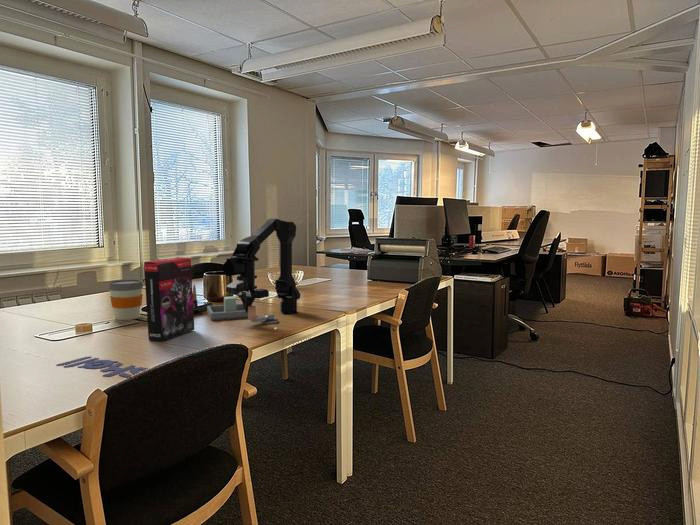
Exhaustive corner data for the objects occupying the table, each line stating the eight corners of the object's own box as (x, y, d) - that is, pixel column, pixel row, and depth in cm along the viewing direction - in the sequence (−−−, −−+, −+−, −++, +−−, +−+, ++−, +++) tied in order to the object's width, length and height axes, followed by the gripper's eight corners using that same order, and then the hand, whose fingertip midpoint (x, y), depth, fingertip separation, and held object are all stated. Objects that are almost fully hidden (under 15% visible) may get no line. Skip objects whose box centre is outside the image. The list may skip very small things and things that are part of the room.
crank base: (275, 319, 196) (275, 317, 196) (286, 329, 181) (286, 327, 181) (258, 320, 193) (258, 319, 193) (267, 330, 178) (267, 328, 178)
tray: (246, 310, 214) (246, 303, 213) (253, 317, 199) (253, 310, 199) (207, 312, 207) (207, 305, 207) (211, 320, 193) (211, 313, 192)
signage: (156, 368, 134) (125, 380, 125) (156, 371, 134) (125, 382, 125) (88, 354, 146) (56, 364, 137) (88, 357, 146) (56, 366, 137)
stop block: (234, 312, 206) (234, 296, 205) (236, 314, 202) (236, 298, 201) (224, 313, 204) (223, 296, 204) (225, 315, 200) (225, 298, 199)
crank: (270, 317, 194) (270, 302, 193) (276, 319, 191) (276, 303, 191) (245, 322, 186) (245, 306, 186) (251, 324, 183) (251, 307, 183)
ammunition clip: (176, 315, 202) (175, 287, 201) (173, 314, 203) (173, 286, 202) (198, 311, 211) (197, 284, 209) (195, 310, 212) (194, 283, 210)
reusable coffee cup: (149, 317, 197) (148, 281, 195) (117, 322, 188) (116, 285, 186) (136, 313, 205) (134, 278, 204) (105, 317, 196) (103, 281, 195)
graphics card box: (161, 342, 161) (159, 262, 158) (145, 340, 164) (142, 261, 161) (195, 330, 177) (193, 257, 174) (179, 329, 179) (177, 256, 176)
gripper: (214, 272, 184) (215, 312, 186) (247, 278, 173) (247, 320, 175) (237, 269, 193) (237, 307, 195) (269, 275, 182) (269, 315, 184)
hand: (247, 312), depth 187 cm, fingers closed
